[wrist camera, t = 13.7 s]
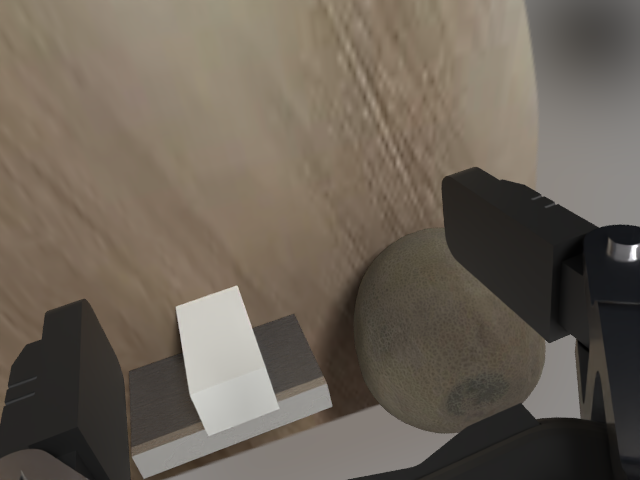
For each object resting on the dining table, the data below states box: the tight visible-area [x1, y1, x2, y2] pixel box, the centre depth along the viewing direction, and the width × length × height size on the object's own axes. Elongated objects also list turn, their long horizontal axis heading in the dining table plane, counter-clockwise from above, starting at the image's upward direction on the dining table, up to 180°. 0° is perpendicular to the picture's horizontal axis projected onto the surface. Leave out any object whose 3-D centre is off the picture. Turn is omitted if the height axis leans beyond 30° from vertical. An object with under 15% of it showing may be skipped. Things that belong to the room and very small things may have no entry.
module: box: [176, 286, 279, 436], centre depth 41 cm, size 5×4×10 cm
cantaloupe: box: [354, 228, 545, 433], centre depth 43 cm, size 14×14×15 cm
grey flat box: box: [129, 314, 333, 479], centre depth 43 cm, size 14×2×9 cm, turn 101°
